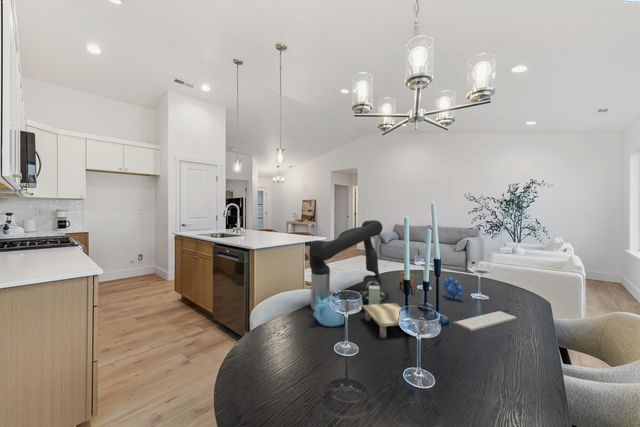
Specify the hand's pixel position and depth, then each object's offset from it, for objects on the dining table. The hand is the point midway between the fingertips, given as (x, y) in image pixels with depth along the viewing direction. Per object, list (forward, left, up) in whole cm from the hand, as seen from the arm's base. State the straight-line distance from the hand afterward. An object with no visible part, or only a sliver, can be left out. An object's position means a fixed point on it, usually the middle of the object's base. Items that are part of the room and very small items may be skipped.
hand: (374, 299), depth 126 cm
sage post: (+1, +2, -7) cm, 7 cm away
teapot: (-21, -4, -7) cm, 23 cm away
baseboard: (+46, -15, -7) cm, 49 cm away
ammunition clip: (+32, +28, -7) cm, 43 cm away
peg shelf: (+1, -14, -7) cm, 16 cm away
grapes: (+50, +12, -7) cm, 51 cm away
